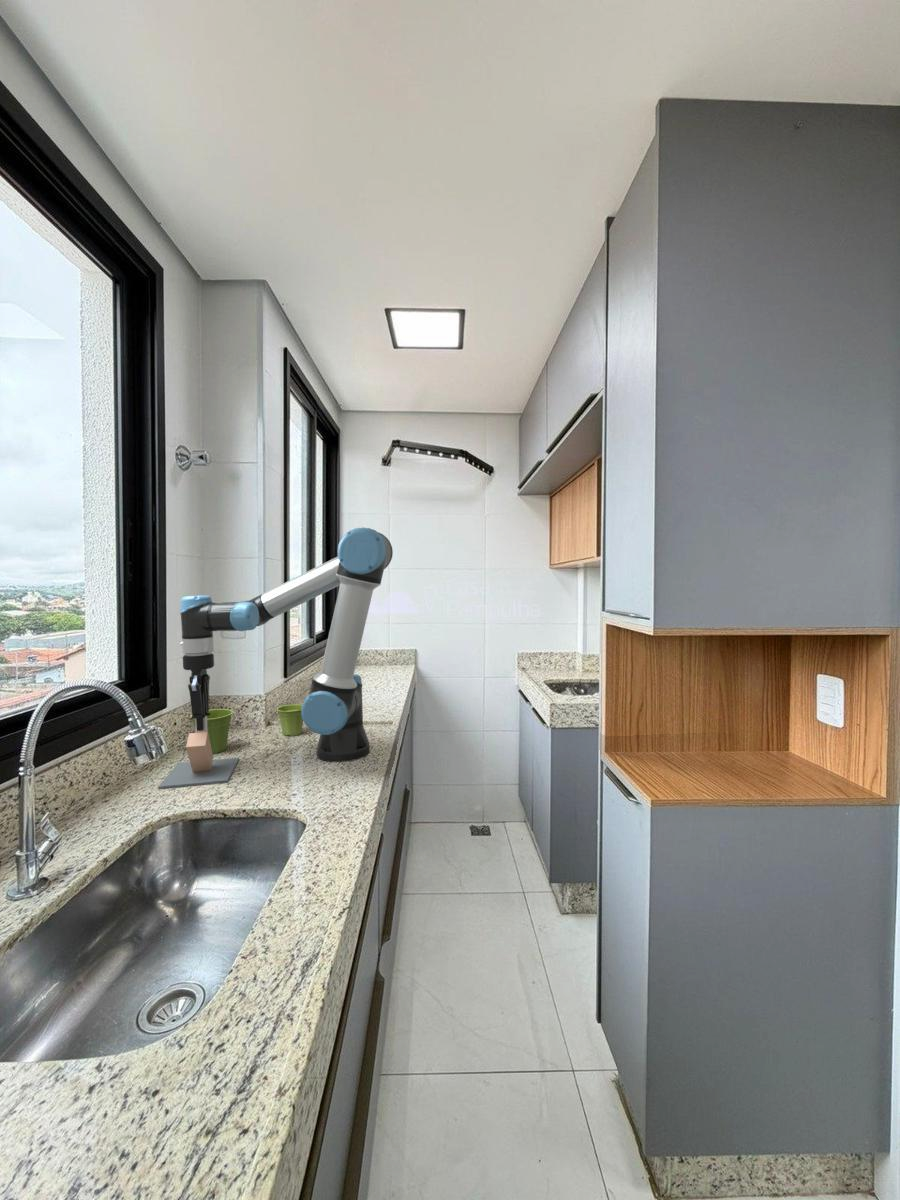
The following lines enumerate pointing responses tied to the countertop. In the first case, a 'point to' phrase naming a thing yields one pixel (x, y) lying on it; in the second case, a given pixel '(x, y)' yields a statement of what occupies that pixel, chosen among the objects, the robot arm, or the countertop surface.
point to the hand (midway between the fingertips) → (201, 741)
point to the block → (199, 751)
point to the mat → (200, 774)
